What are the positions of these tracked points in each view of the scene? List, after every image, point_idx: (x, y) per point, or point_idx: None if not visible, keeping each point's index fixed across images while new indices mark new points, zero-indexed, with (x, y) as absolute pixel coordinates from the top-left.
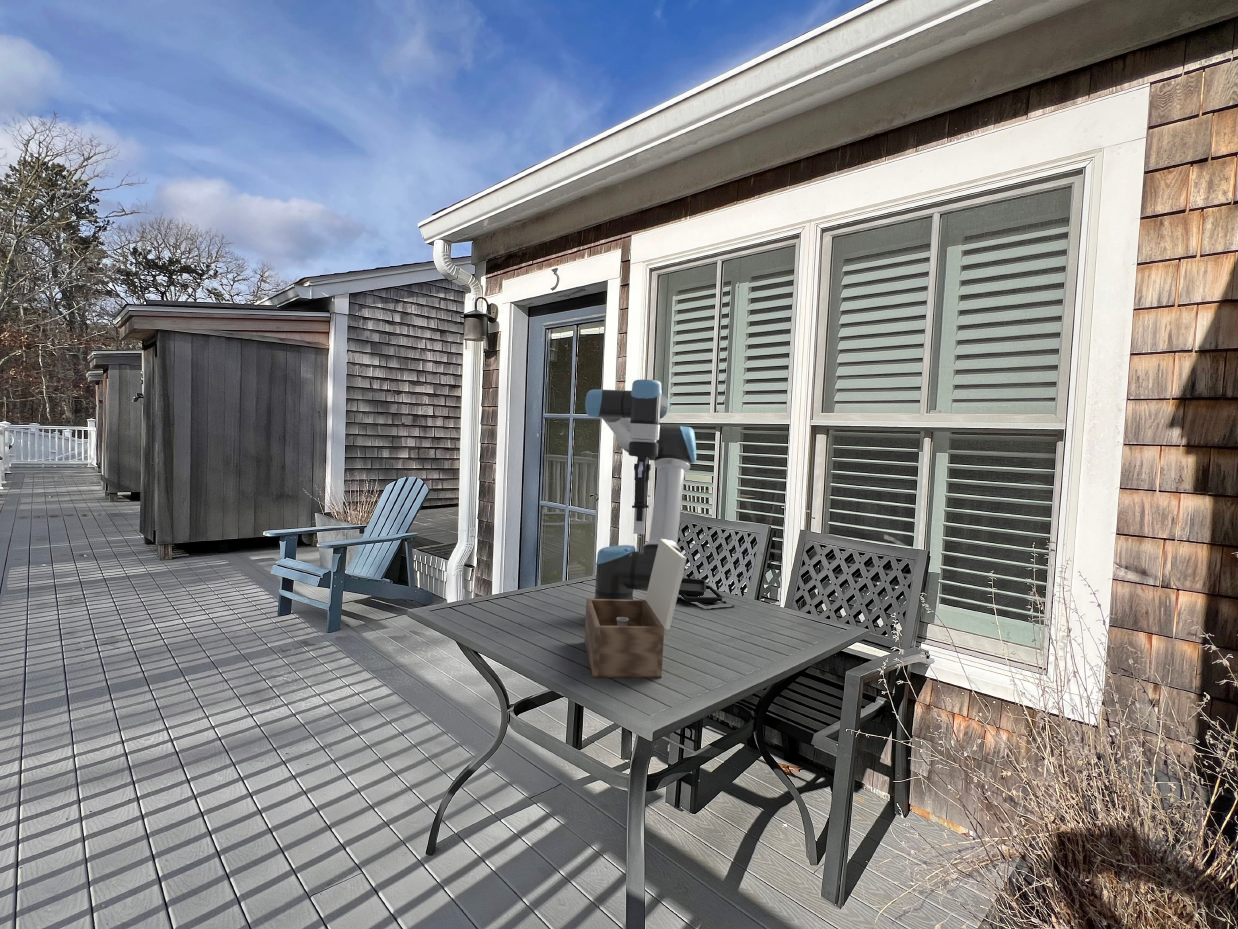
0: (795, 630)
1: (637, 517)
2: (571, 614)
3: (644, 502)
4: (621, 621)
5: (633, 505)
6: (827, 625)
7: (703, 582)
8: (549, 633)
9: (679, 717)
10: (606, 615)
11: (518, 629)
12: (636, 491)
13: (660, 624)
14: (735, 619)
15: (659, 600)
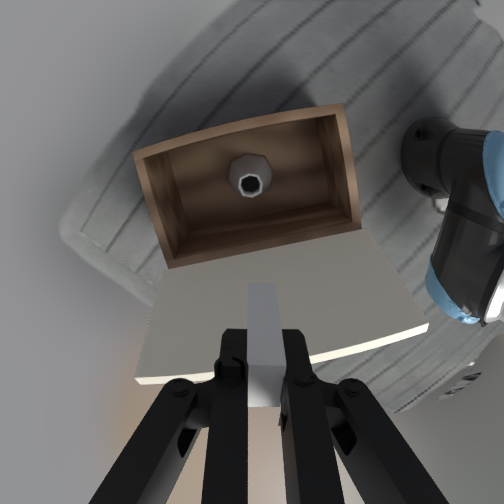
0: (396, 380)
1: (221, 345)
2: (451, 93)
3: (196, 434)
4: (238, 184)
5: (244, 371)
6: (408, 401)
7: None
8: (351, 54)
9: (87, 260)
10: (332, 146)
11: (355, 10)
12: (121, 463)
13: (187, 262)
14: (440, 326)
15: (246, 271)
